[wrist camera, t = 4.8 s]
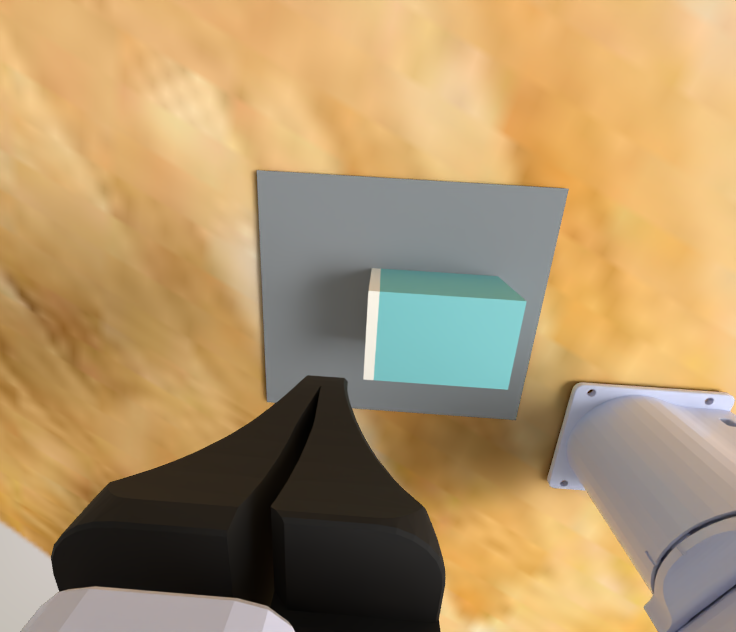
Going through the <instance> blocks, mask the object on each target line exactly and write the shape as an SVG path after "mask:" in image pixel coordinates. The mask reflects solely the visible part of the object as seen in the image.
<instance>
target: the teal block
mask: <svg viewBox="0 0 736 632" xmlns="http://www.w3.org/2000/svg"><path fill="white" fill-rule="evenodd" d="M526 302H527V301H526V300H525V299H524V298H522V297H521V296H520V295H519V294H518V293H517V292H515V291H514V290H513V289H512V288H511V287H510V286H509V285H507V284H506V283H505V282H504V281H503V280H502V279H501V278H499V277H498V276H487V275H472V274H456V273H441V272H425V271H409V270H394V269H378V268H372V270H371V277H370V284H369V291H368V307H367V325H366V342H365V359H364V376H363V380H378V381H392V382H406V383H420V384H434V385H448V386H463V387H477V388H491V389H505V390H508V386H509V382H510V377H511V372H512V368H513V363H514V358H515V354H516V349H517V344H518V340H519V335H520V330H521V325H522V321H523V316H524V311H525V307H526Z"/></svg>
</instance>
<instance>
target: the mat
mask: <svg viewBox="0 0 736 632" xmlns="http://www.w3.org/2000/svg"><path fill="white" fill-rule="evenodd" d="M257 187H258V210H259V232H260V255H261V277H262V300H263V322H264V345H265V367H266V390H267V402H273V403H276V402H278V401H279V400H280V399H281V398H282V397H283V396H285V395H286V394H287V393H288V392H289V391H290V390H291V389H292V388H294V387H295V386H296V385H297V384H298V383H299V382H300V381H301V380H302V379H304V378H305V377H306V376H307V375H311V376H325V377H340V378H345V379H346V380H347V381H348V388H347V391H348V396H349V401H350V404H351V407H352V408H356V409H370V410H384V411H398V412H412V413H426V414H439V415H453V416H467V417H481V418H495V419H509V420H516V417H517V412H518V408H519V404H520V399H521V395H522V390H523V386H524V382H525V377H526V373H527V369H528V364H529V360H530V356H531V351H532V347H533V342H534V338H535V334H536V329H537V325H538V321H539V316H540V312H541V308H542V303H543V299H544V294H545V290H546V286H547V281H548V277H549V273H550V268H551V264H552V259H553V255H554V251H555V246H556V242H557V238H558V233H559V229H560V225H561V220H562V216H563V211H564V207H565V203H566V198H567V194H568V190H569V189H564V188H547V187H530V186H513V185H496V184H480V183H463V182H446V181H429V180H412V179H395V178H378V177H361V176H345V175H328V174H311V173H294V172H277V171H260V170H257ZM372 268H378V269H394V270H409V271H425V272H441V273H456V274H472V275H487V276H498V277H499V278H501V279H502V280H503V281H504V282H505V283H506V284H507V285H509V286H510V287H511V288H512V289H513V290H514V291H515V292H517V293H518V294H519V295H520V296H521V297H522V298H524V299H525V300H526V301H527V302H526V307H525V311H524V316H523V321H522V325H521V330H520V335H519V340H518V344H517V349H516V354H515V358H514V363H513V368H512V372H511V377H510V382H509V386H508V390H505V389H491V388H477V387H463V386H448V385H434V384H420V383H406V382H392V381H378V380H363V376H364V359H365V342H366V325H367V307H368V291H369V284H370V277H371V270H372Z"/></svg>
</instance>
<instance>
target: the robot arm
mask: <svg viewBox="0 0 736 632" xmlns="http://www.w3.org/2000/svg"><path fill="white" fill-rule="evenodd" d="M347 388H348V381H347V380H346V379H345V378H340V377H325V376H311V375H307V376H306V377H305V378H304V379H302V380H301V381H300V382H299V383H298V384H297V385H296V386H295V387H294V388H292V389H291V390H290V391H289V392H288V393H287V394H286V395H285V396H283V397H282V398H281V399H280V400H279V401H278V402H276V403H275V404H274V405H273V406H272V407H270V408H269V409H268V410H266V411H265V412H264V413H262V414H261V415H260V416H259V417H257V418H256V419H254V420H253V421H251V422H250V423H248V424H247V425H245V426H244V427H242V428H241V429H239V430H237V431H236V432H234V433H232V434H231V435H229V436H227V437H225V438H223V439H221V440H219V441H217V442H215V443H213V444H211V445H209V446H207V447H205V448H203V449H201V450H199V451H197V452H195V453H193V454H190V455H188V456H186V457H183V458H181V459H178V460H176V461H173V462H171V463H168V464H165V465H163V466H160V467H157V468H154V469H152V470H148V471H145V472H142V473H139V474H136V475H133V476H129V477H126V478H123V479H120V480H116V481H113V482H110V483H109V484H108V485H107V486H106V487H105V488H104V489H103V490H102V491H101V492H100V493H99V494H98V495H97V496H96V497H95V498H94V499H93V500H92V502H91V503H90V504H89V505H88V506H87V507H86V508H85V509H84V510H83V512H82V513H81V514H80V515H79V516H78V517H77V518H76V519H75V520H74V522H73V523H72V524H71V525H70V526H69V527H68V528H67V529H66V530H65V532H64V533H63V534H62V535H61V536H60V538H59V539H58V540H57V542H56V543H55V544H54V547H53V551H52V555H51V561H52V567H53V573H54V577H55V580H56V583H57V586H58V589H59V592H58V593H57V594H55V595H54V596H53V597H52V598H51V599H49V600H48V601H47V602H45V603H44V604H43V605H42V606H41V607H40V608H39V609H38V610H37V611H36V613H35V614H34V615H33V617H32V618H31V619H30V620H29V621H28V623H27V624H26V625H25V626H24V628H23V629H22V630H21V631H20V632H440V625H439V615H440V609H441V604H442V599H443V593H444V588H445V567H444V562H443V557H442V554H441V550H440V547H439V543H438V540H437V537H436V534H435V531H434V529H433V526H432V523H431V521H430V519H429V516H428V514H427V511H426V509H425V508H424V507H423V506H422V505H421V504H420V503H419V502H418V501H416V500H415V499H414V498H413V497H412V496H411V495H410V494H408V493H407V492H406V491H405V490H404V489H403V488H402V487H401V486H400V485H399V484H398V483H397V482H396V481H395V480H394V479H393V478H392V476H391V475H390V474H389V473H388V471H387V470H386V469H385V468H384V466H383V465H382V464H381V463H380V461H379V460H378V459H377V457H376V456H375V454H374V453H373V451H372V450H371V448H370V446H369V445H368V443H367V441H366V439H365V438H364V436H363V434H362V432H361V430H360V428H359V425H358V423H357V421H356V418H355V416H354V413H353V410H352V407H351V404H350V401H349V396H348V391H347ZM591 389H593V390H592V392H591V393H587V392H588V391H589V390H591ZM707 398H708V399H707ZM706 399H707V400H706ZM705 400H706V401H705ZM733 404H734V397H733V396H731V395H730V394H728V393H725V392H714V391H699V390H685V389H671V388H656V387H642V386H628V385H613V384H599V383H585V382H581V383H577V384H576V385H575V386H574V387H573V389H572V392H571V396H570V399H569V403H568V406H567V410H566V413H565V417H564V420H563V424H562V428H561V431H560V435H559V438H558V442H557V445H556V449H555V452H554V456H553V459H552V463H551V467H550V470H549V474H548V477H547V481H548V483H549V485H550V486H551V487H552V488H560V489H573V490H586V491H587V493H588V495H589V496H590V498H591V499H592V501H593V502H594V504H595V505H596V507H597V509H598V510H599V512H600V513H601V515H602V516H603V518H604V519H605V521H606V523H607V524H608V526H609V527H610V529H611V530H612V532H613V533H614V535H615V537H616V538H617V540H618V541H619V543H620V544H621V546H622V547H623V549H624V551H625V552H626V554H627V555H628V557H629V558H630V560H631V561H632V563H633V565H634V566H635V568H636V569H637V571H638V572H639V574H640V575H641V577H642V579H643V580H644V582H645V583H646V585H647V586H648V588H649V589H650V591H651V593H652V594H653V596H652V597H651V599H650V600H649V602H647V603H646V604H645V605H644V609H645V611H646V613H647V614H648V616H649V617H650V619H651V621H652V622H653V624H654V626H655V627H656V629H657V631H658V632H736V415H735V414H733V413H732V412H730V410H731V408H732V406H733ZM564 480H565V481H564ZM561 481H563V482H561Z"/></svg>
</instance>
